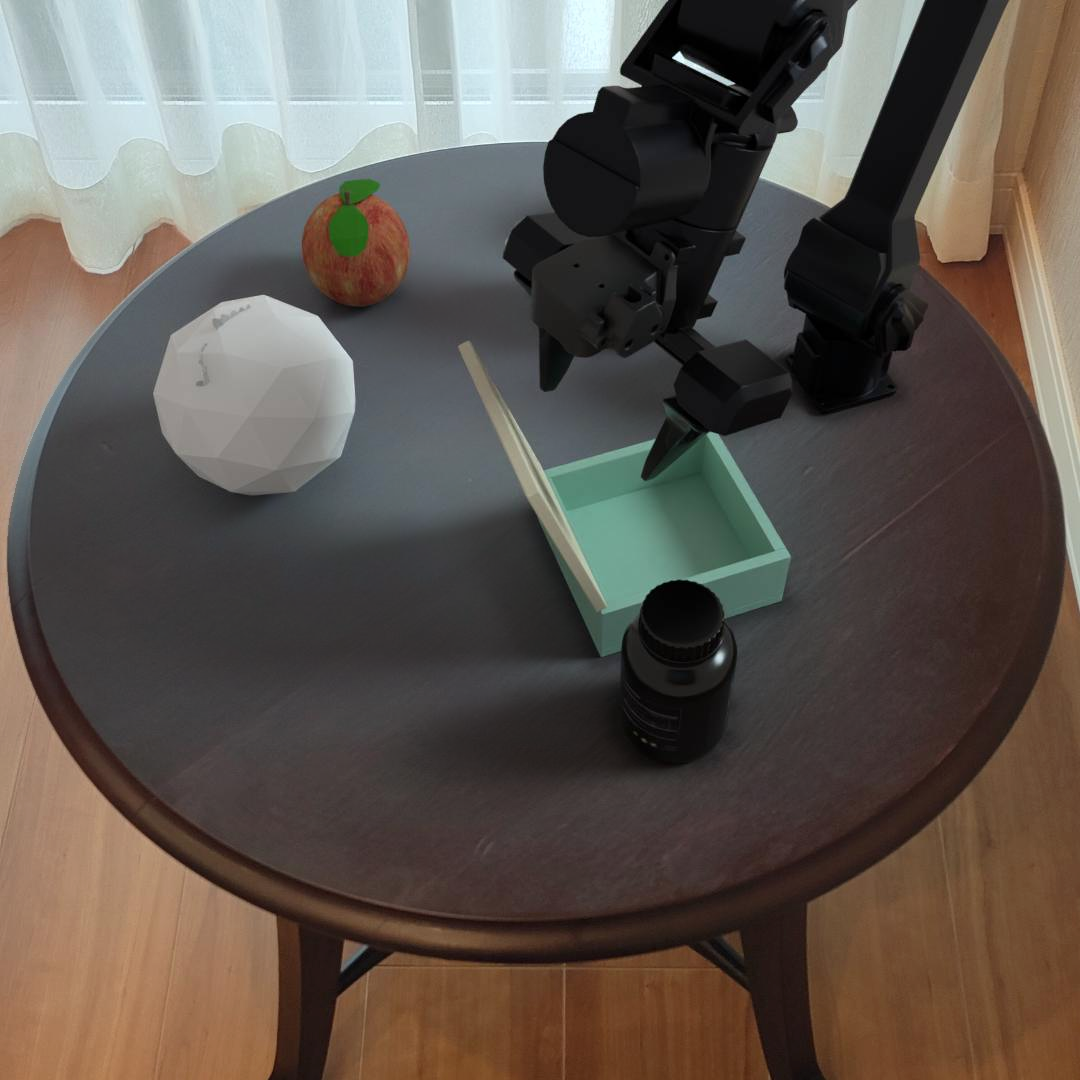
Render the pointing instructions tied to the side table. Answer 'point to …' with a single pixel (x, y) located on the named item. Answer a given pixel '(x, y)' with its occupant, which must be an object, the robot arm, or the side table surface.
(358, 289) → the fruit
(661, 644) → the supplement bottle
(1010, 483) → the side table surface
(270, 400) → the geodesic sphere
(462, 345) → the lid
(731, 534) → the teal shallow box
